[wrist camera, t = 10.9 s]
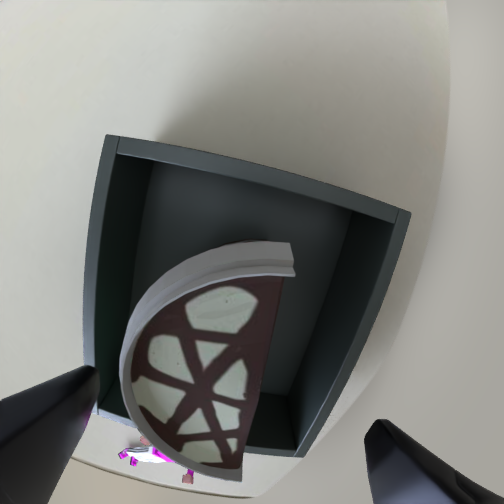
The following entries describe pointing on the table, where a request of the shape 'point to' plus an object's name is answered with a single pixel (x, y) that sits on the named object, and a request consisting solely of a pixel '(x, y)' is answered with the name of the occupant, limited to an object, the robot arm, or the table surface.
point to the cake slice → (204, 353)
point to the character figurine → (150, 457)
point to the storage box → (229, 230)
